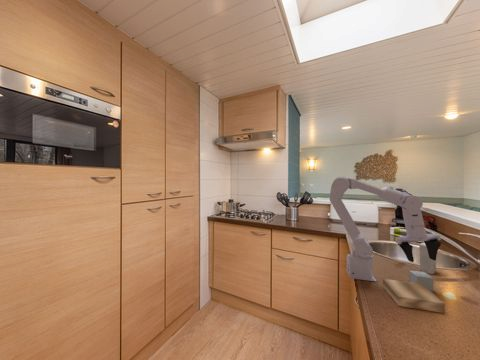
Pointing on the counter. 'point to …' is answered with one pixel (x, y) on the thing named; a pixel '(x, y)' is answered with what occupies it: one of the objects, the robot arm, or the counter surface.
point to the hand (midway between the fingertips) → (421, 260)
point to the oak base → (413, 295)
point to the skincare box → (426, 260)
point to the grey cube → (422, 279)
